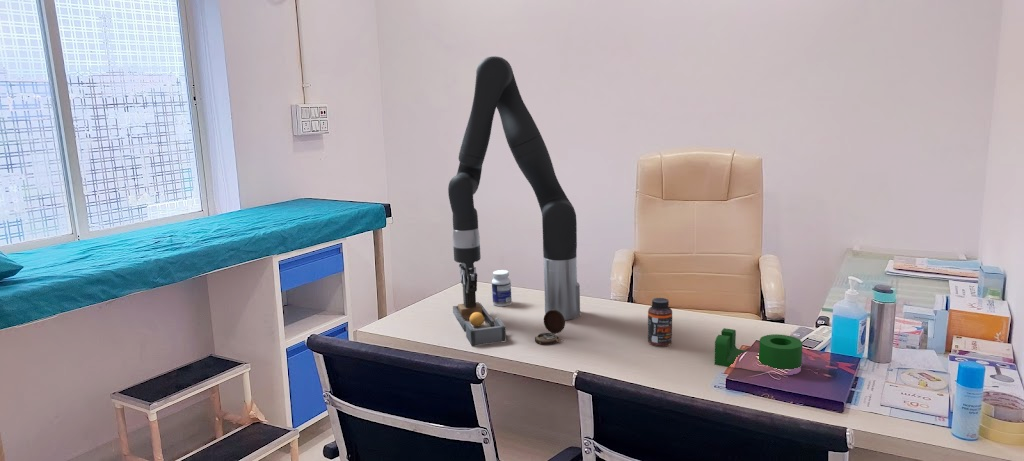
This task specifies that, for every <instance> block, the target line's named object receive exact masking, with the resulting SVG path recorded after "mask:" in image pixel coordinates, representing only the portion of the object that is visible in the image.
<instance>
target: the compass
mask: <svg viewBox="0 0 1024 461" xmlns="http://www.w3.org/2000/svg"><path fill="white" fill-rule="evenodd" d="M543 324H544V327H545V329H546V330H547V331H548V332H542V333H539V334H537V335H536V336H535V337H534V341H535V343H537V344H539V345H541V346H548V345H555V344H556V343H559V342H560V341H561V340H562V341H561V343H564V341H565V340H564V339H562V338H560V339H559V336H558V335H557V334H559V333H561V332H562V331H563V330H564V328H565V326H566V320H565V319H564V317H563V315H562V314H561V313H560V312H559V311H557V310H550V311H548V312H547V313H546V314H544V316H543Z"/></svg>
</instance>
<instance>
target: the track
mask: <svg viewBox="0 0 1024 461" xmlns="http://www.w3.org/2000/svg"><path fill="white" fill-rule="evenodd" d="M479 304H480V305H481V306H482V315H483V316H484V321H486V323H487V324H488V325H489V327H495V319H493V317H492V316H491V314H490V313H489V312H488V311H487V310H486V307H484V305H483V304H482V303H481V302H479ZM452 313H453V315H454V317H455V318H456V320H457V322H458V324H459V325H460V326H461V328H462V330H463V331H464V333H466V323H465V322H466V319H463V317H462V316H461V314H460V312H459V311H458V305H452Z"/></svg>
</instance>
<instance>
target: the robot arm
mask: <svg viewBox="0 0 1024 461" xmlns="http://www.w3.org/2000/svg"><path fill="white" fill-rule="evenodd" d="M475 71H476V73H475V82H474V83H475V84H474V92H473V93H474V94H473V100H472V104H471V111H470V114H469V117H468V121H467V125H466V127H465V132H464V134H463V137H462V138H463V139H462V142H461V144H460V145H461V146H460V149H459V153H458V161H459V165H458V168H457V172H456V175H454V176H453V177H452V178H451V179H450V181H449V183H448V188H447V194H448V199H449V200H448V201H449V204H450V208H451V212H452V227H453V228H452V248H453V249H452V250H453V260H454V262H455V263H459V264H458V267H459V273H460V284H461V286H462V288H463V283H462V278H463V281H464V284H465V285H466V292H467V304H468V305H475V295H476V292H477V290H478V273H477V267H475V265H474V263H476V262H479V261H480V260H481V238H480V230H479V215H478V211H477V209H476V208H475V205H474V202H475V201H474V195H475V194H476V192H477V191H478V190H479V185H480V183H481V178H482V172H483V164H484V161H485V157H486V155H487V152H488V147H489V143H490V139H491V138H490V137H491V135H492V126H493V122H494V117H495V112H496V110H497V111H498V114H499V118H500V121H501V126H502V129H503V134H504V136H505V139H506V143H507V144H508V147H509V149H510V152H511V154H512V156H513V158H514V161H515V162H516V165H517V166H518V168H519V169H520V171H521V172H522V174H523V176H524V177H525V179H526V181H527V182H528V183H529V184H530V186H531V188H532V190H533V192H534V194H535V197H536V199H537V203H538V205H539V208H540V212H541V217H542V218H541V221H542V223H541V224H542V253H543V255H542V256H543V283H544V284H543V286H544V313H545V314H546V313H547V312H548V311H550V310H557V311H559V312H560V313H561V314H562V315H563V317H564V319H565V321H568V320H572V319H575V318H577V317H581V296H580V294H581V292H580V291H581V289H580V283H579V282H578V270H577V269H578V267H577V264H578V262H577V255H578V254H577V249H578V248H577V247H578V246H577V245H578V244H577V243H578V242H577V241H578V240H577V239H578V238H577V232H578V227H577V225H578V224H577V215H576V211H575V207H574V205H573V204H572V202H571V201H570V199H569V198H568V196H567V195H566V193H565V192H564V190H563V188H562V186H561V184H560V181H559V179H558V178H557V175H556V172H555V168H554V165H553V161H552V158H551V156H550V153H549V151H548V148H547V145H546V143H545V141H544V139H543V136H542V134H541V132H540V130H539V128H538V126H537V124H536V122H535V120H534V119H533V117H532V115H531V113H530V110H528V107H527V105H526V104H525V102H524V100H523V98H522V95H521V93H520V90H519V87H518V84H517V80H516V77H515V75H514V71H513V68H512V66H511V64H510V62H509V61H508V60H506V59H505V58H503V57H501V56H496V55H495V56H494V55H493V56H487V57H485V58H484V59H482V60H481V61H480V62H479V64H478V65H477V68H476V70H475ZM466 280H468V282H467V281H466ZM472 285H473V288H470V286H472ZM545 314H544V315H545Z"/></svg>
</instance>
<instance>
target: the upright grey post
mask: <svg viewBox="0 0 1024 461" xmlns="http://www.w3.org/2000/svg"><path fill="white" fill-rule="evenodd" d="M466 281H467V282H468V280H466ZM462 283H463V284H462ZM462 283H461V284H462V285H463V287H462V297H463V300H462V302H463V303H459V304H457V306H458V311H459V312H460V314H461V316H462V317H463V319H464V320H470V316H471V314H473V313H474V312H479V313H481V314H482V306H483V305H482V306H481V305H480V304H479V303H480V302H479V301H476V300H477V299H476V297H477V296H476V295H477V294H475V305H468V304H467V292H466V285H465V284H464V281H463V278H462ZM470 288H473V285H472V286H470Z"/></svg>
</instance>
